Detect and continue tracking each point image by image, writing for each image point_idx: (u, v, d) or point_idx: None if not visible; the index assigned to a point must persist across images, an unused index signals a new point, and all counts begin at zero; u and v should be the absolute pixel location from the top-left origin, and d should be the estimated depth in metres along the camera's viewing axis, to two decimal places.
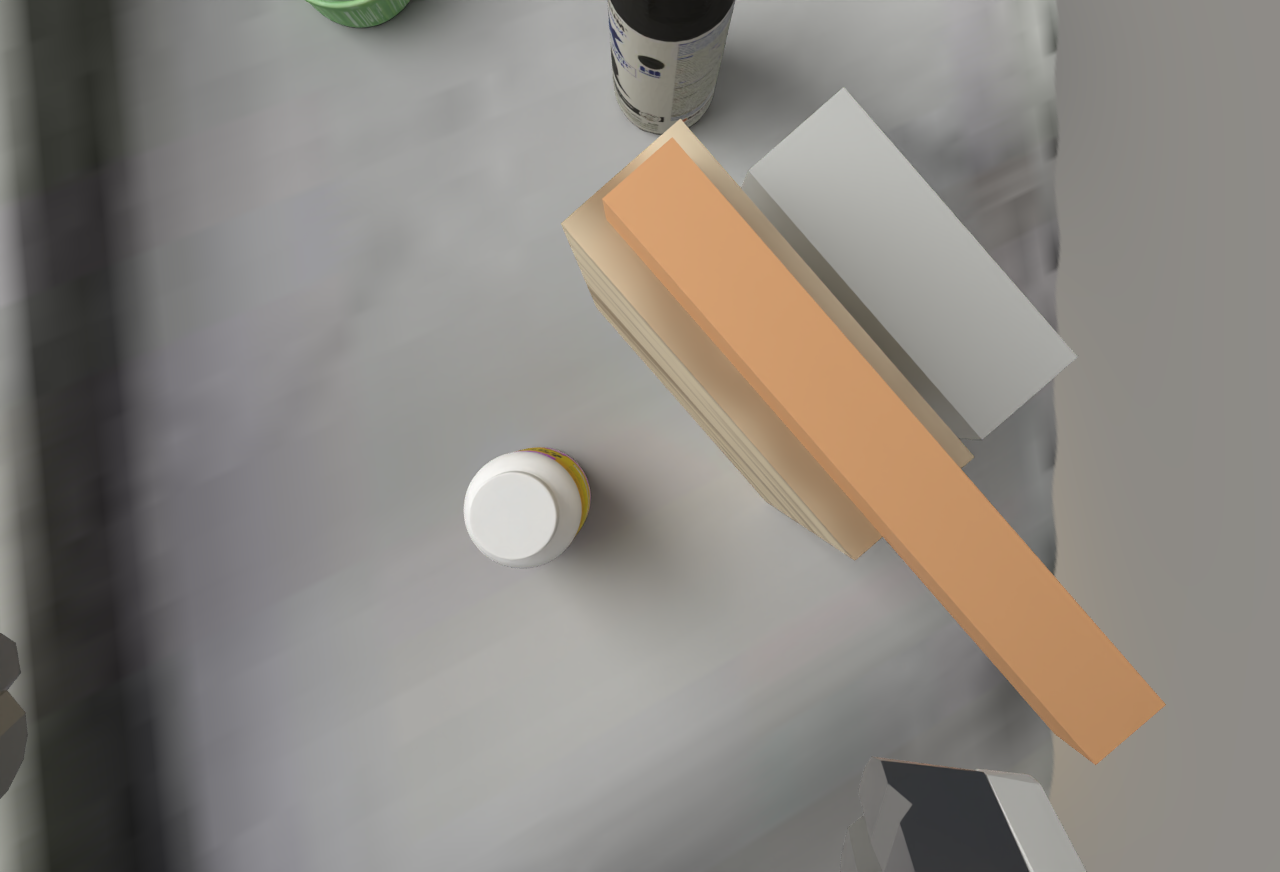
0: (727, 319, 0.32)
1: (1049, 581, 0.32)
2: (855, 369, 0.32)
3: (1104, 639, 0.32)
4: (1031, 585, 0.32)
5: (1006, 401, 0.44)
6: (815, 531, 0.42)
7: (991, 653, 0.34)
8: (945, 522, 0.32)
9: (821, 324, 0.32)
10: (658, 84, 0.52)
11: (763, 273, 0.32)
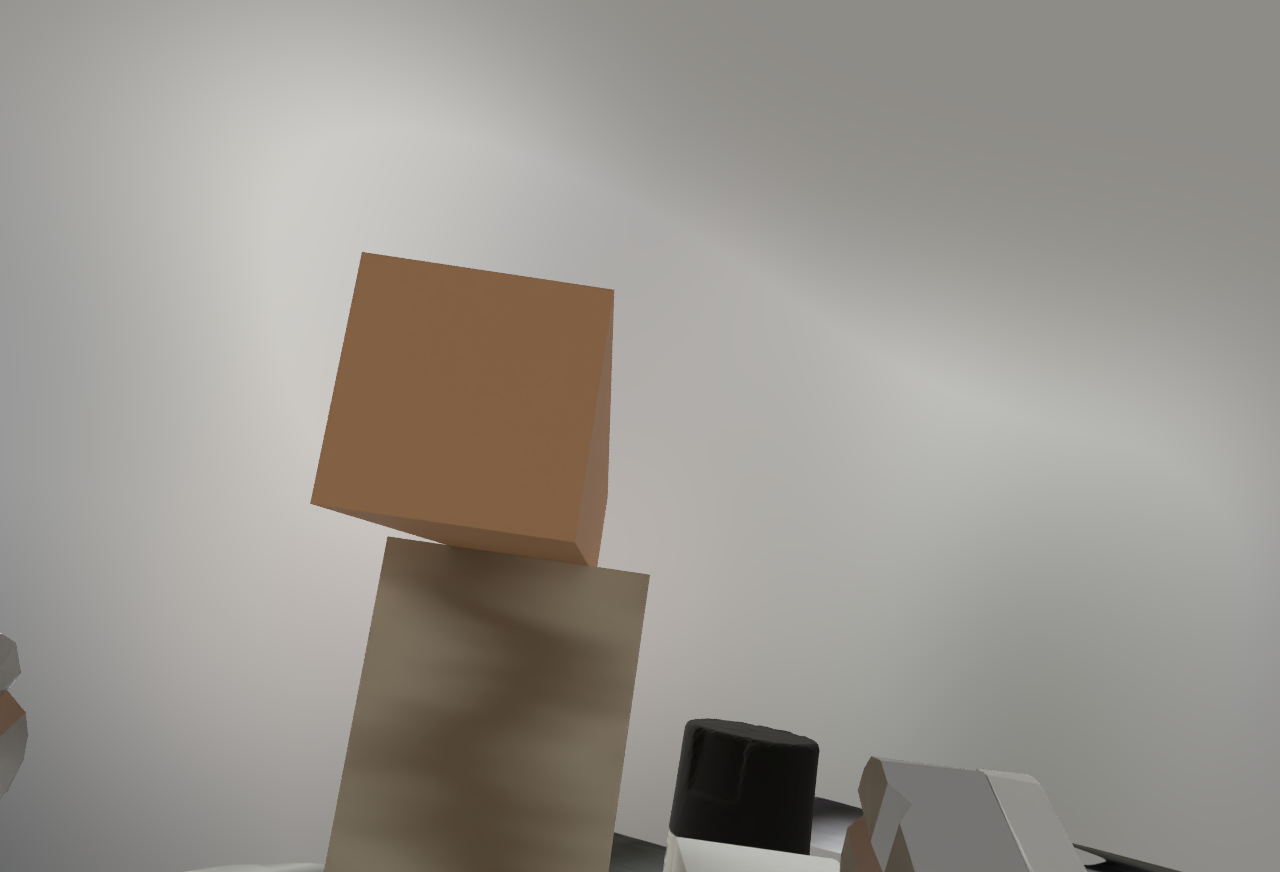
0: None
1: None
2: None
3: None
4: None
5: None
6: None
7: None
8: None
9: None
10: None
11: None
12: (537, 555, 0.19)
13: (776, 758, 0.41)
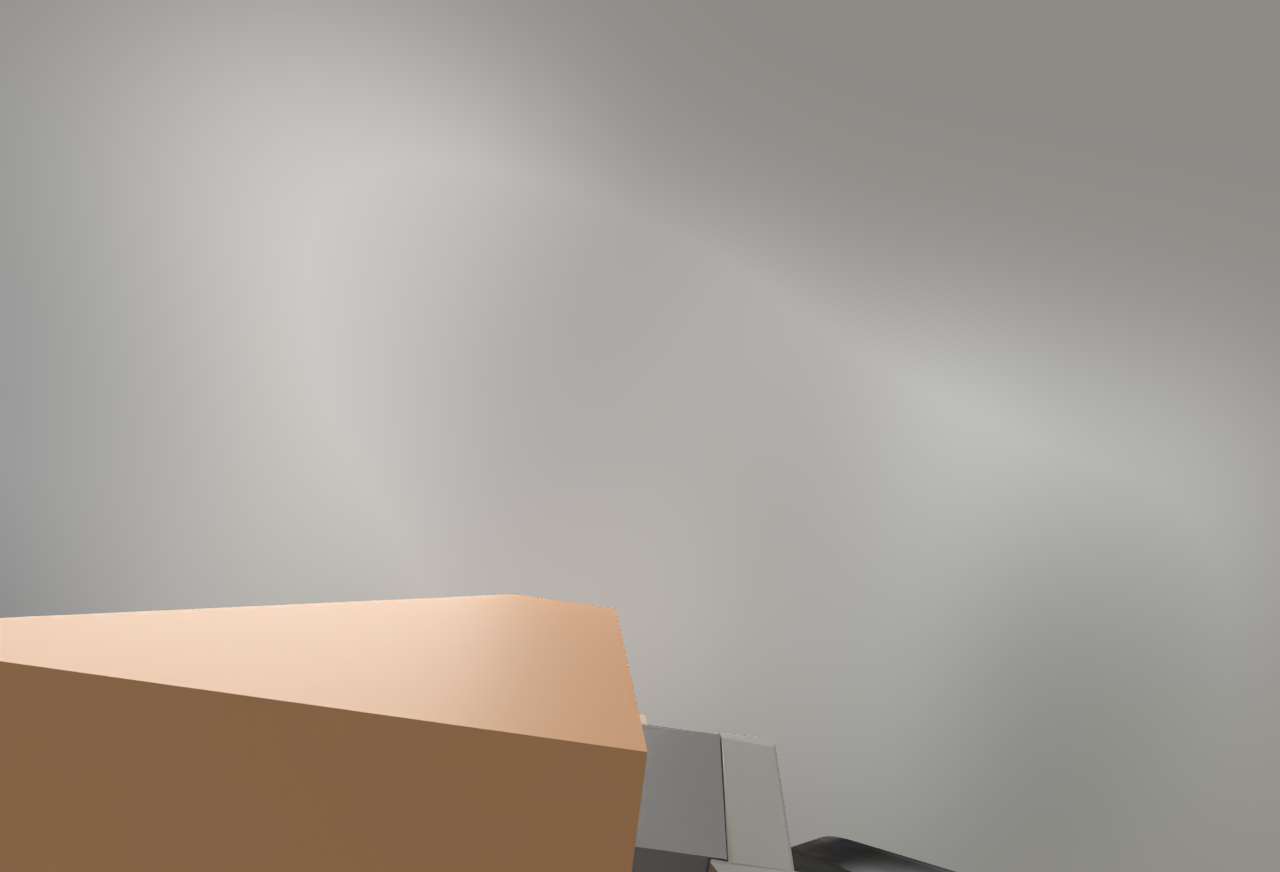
0: (510, 598, 0.23)
1: (600, 645, 0.09)
2: (594, 615, 0.19)
3: (612, 669, 0.06)
4: (547, 636, 0.09)
5: None
6: None
7: None
8: (508, 615, 0.13)
9: (601, 614, 0.21)
10: None
11: None
12: None
13: None
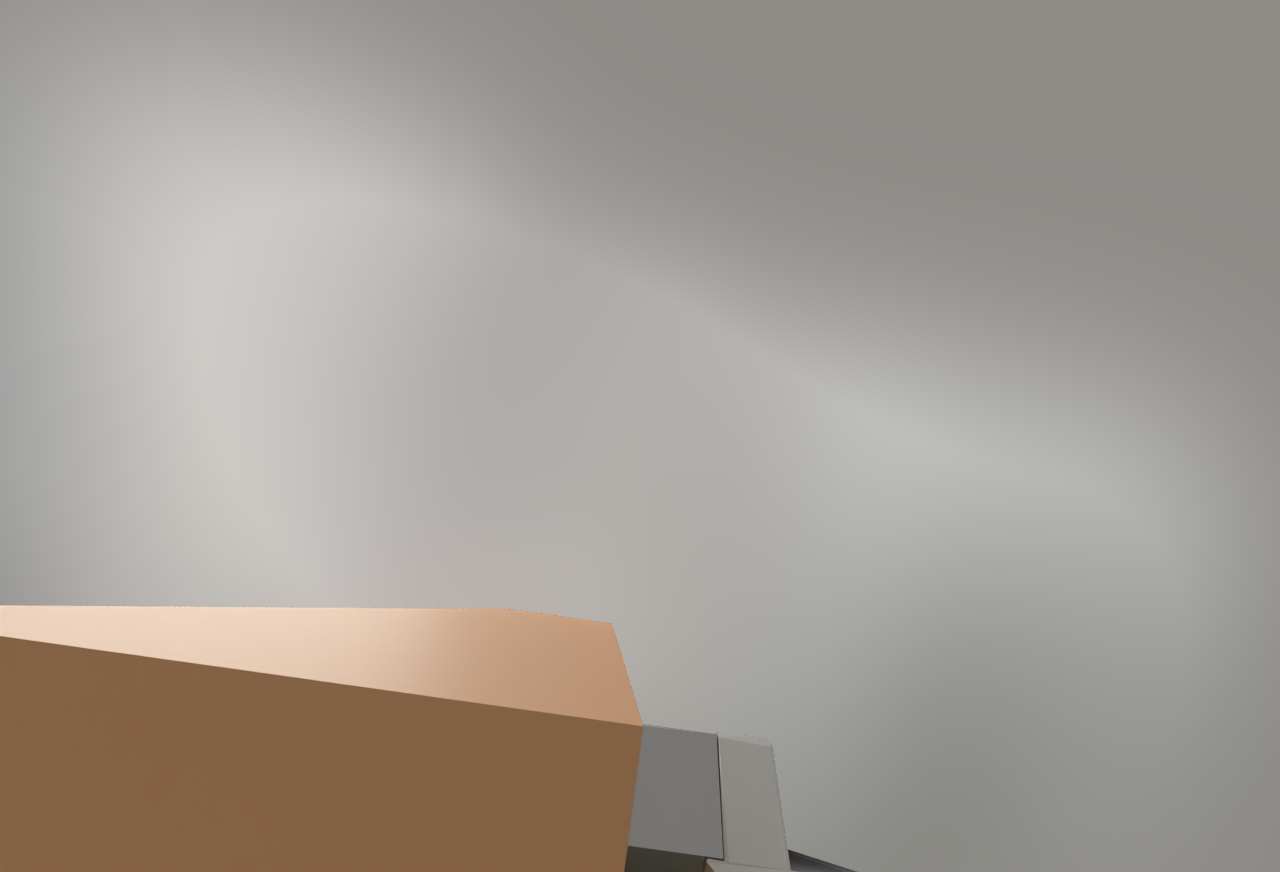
0: (506, 612, 0.23)
1: (595, 649, 0.09)
2: (590, 627, 0.19)
3: (608, 666, 0.06)
4: (543, 640, 0.09)
5: None
6: None
7: None
8: (503, 624, 0.13)
9: (597, 627, 0.21)
10: None
11: (585, 622, 0.23)
12: None
13: None
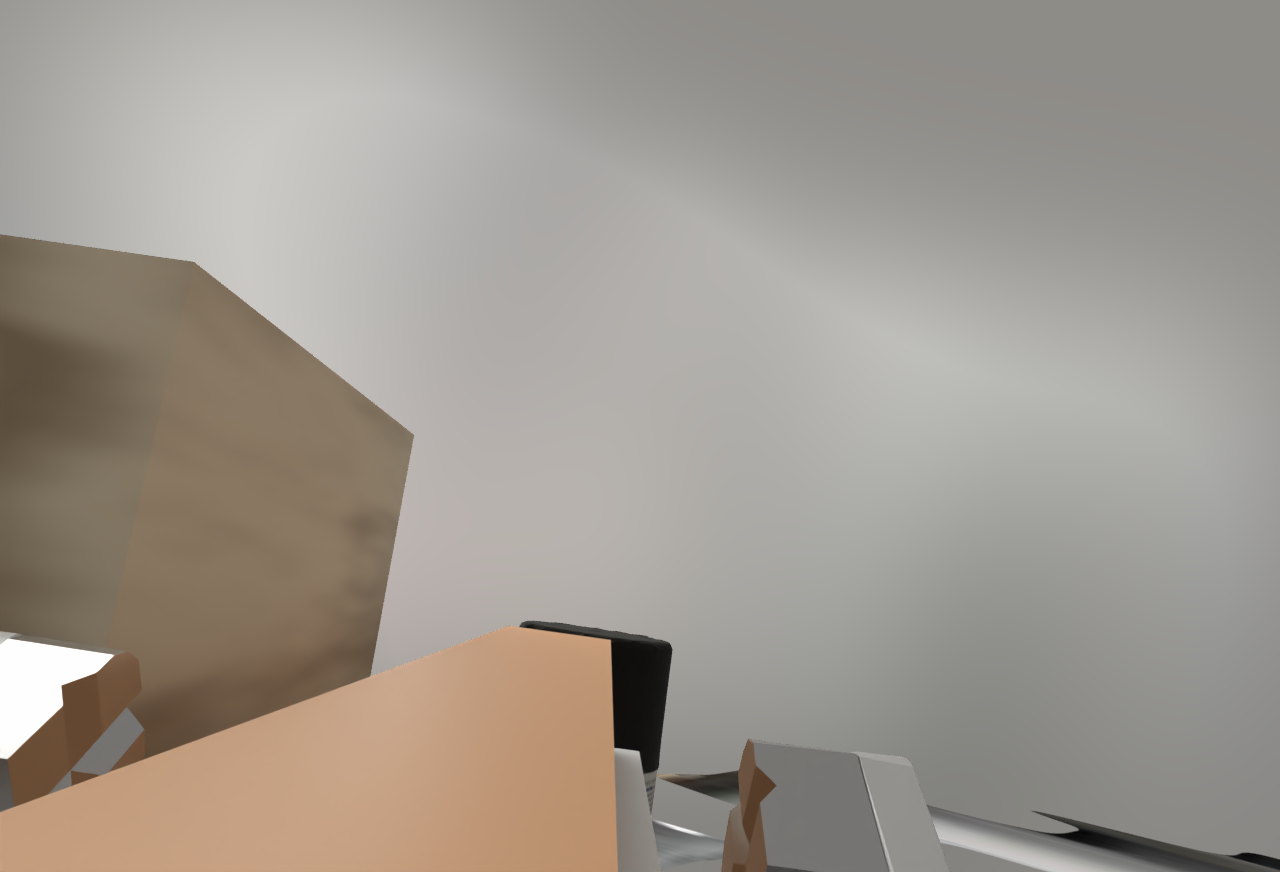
0: (503, 638, 0.23)
1: (588, 750, 0.09)
2: (587, 663, 0.19)
3: (598, 821, 0.06)
4: (534, 738, 0.09)
5: None
6: None
7: None
8: (497, 687, 0.13)
9: (595, 658, 0.21)
10: None
11: (583, 648, 0.23)
12: None
13: None
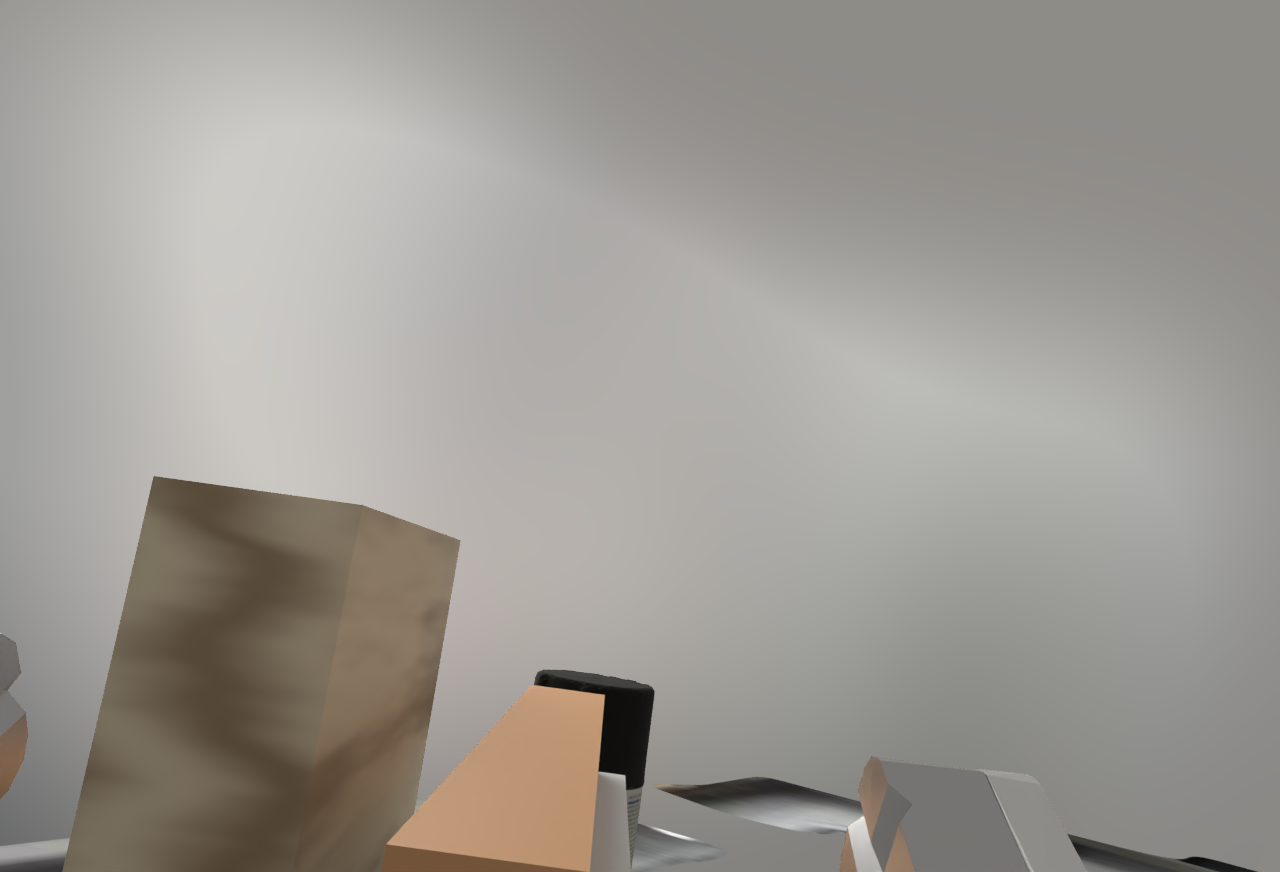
0: (531, 702, 0.34)
1: (585, 791, 0.20)
2: (587, 726, 0.30)
3: (587, 821, 0.17)
4: (560, 785, 0.20)
5: None
6: None
7: None
8: (537, 752, 0.24)
9: (592, 719, 0.32)
10: None
11: (584, 708, 0.34)
12: None
13: (606, 698, 0.47)
